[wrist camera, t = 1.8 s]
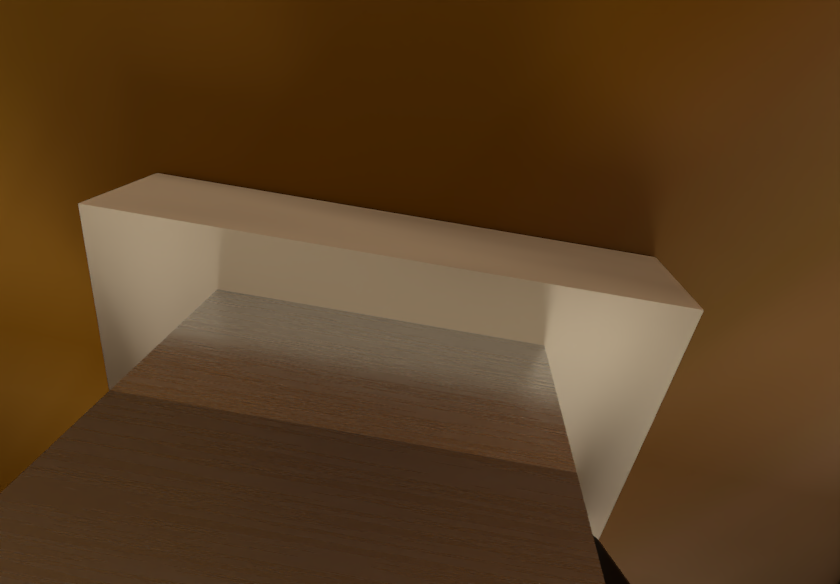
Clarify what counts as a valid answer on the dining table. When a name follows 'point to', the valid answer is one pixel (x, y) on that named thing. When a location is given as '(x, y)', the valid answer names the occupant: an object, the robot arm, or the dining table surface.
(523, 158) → the dining table surface
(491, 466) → the block
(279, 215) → the stand
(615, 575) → the robot arm
